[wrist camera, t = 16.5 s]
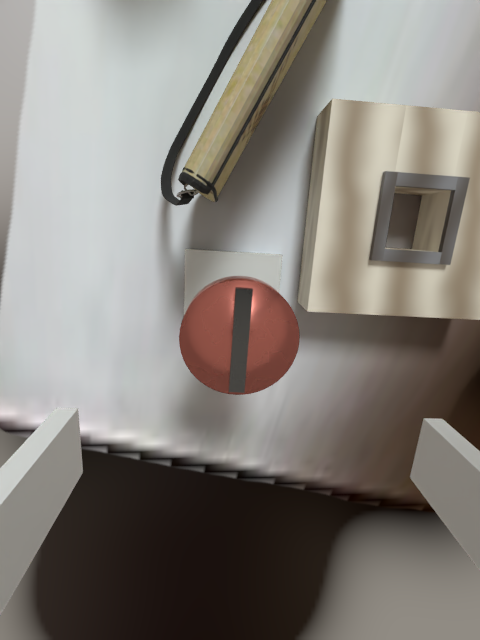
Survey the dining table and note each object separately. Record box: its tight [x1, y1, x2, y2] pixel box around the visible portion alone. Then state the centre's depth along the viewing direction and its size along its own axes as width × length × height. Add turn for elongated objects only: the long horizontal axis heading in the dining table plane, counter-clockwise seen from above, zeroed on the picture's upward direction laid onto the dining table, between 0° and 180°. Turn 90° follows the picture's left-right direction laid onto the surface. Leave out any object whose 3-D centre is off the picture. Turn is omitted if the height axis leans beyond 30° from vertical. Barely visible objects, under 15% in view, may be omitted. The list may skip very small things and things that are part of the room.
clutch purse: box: [161, 0, 327, 205], centre depth 27 cm, size 30×7×15 cm, turn 149°
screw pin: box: [179, 276, 299, 395], centre depth 32 cm, size 9×9×15 cm
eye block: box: [297, 99, 480, 320], centre depth 36 cm, size 20×20×6 cm
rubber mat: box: [184, 249, 283, 315], centre depth 39 cm, size 11×11×1 cm
